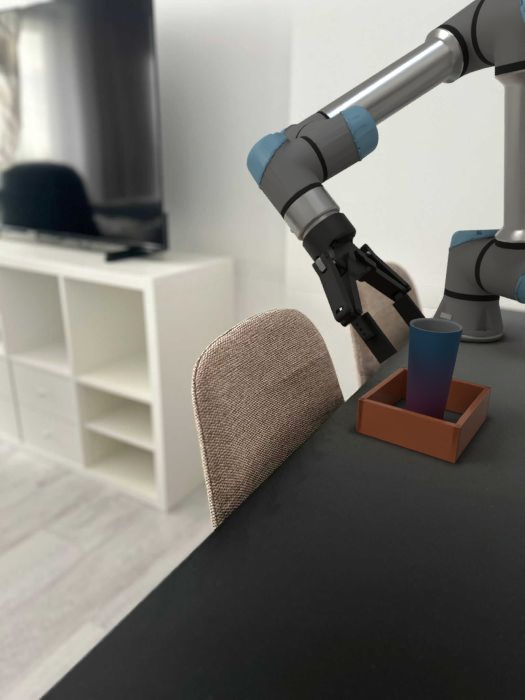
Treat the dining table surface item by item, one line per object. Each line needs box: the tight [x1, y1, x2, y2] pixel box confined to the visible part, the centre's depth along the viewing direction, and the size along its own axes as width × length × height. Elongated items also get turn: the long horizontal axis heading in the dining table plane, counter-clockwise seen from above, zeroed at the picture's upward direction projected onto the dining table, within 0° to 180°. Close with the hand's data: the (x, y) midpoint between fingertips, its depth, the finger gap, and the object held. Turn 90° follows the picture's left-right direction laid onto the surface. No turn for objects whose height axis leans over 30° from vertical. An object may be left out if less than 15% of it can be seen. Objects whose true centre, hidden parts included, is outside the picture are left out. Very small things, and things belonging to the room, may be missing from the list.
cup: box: [405, 317, 463, 420], centre depth 71 cm, size 7×7×15 cm
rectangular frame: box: [355, 366, 492, 464], centre depth 73 cm, size 16×14×5 cm
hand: (408, 345), depth 72 cm, fingers open, 13 cm apart
